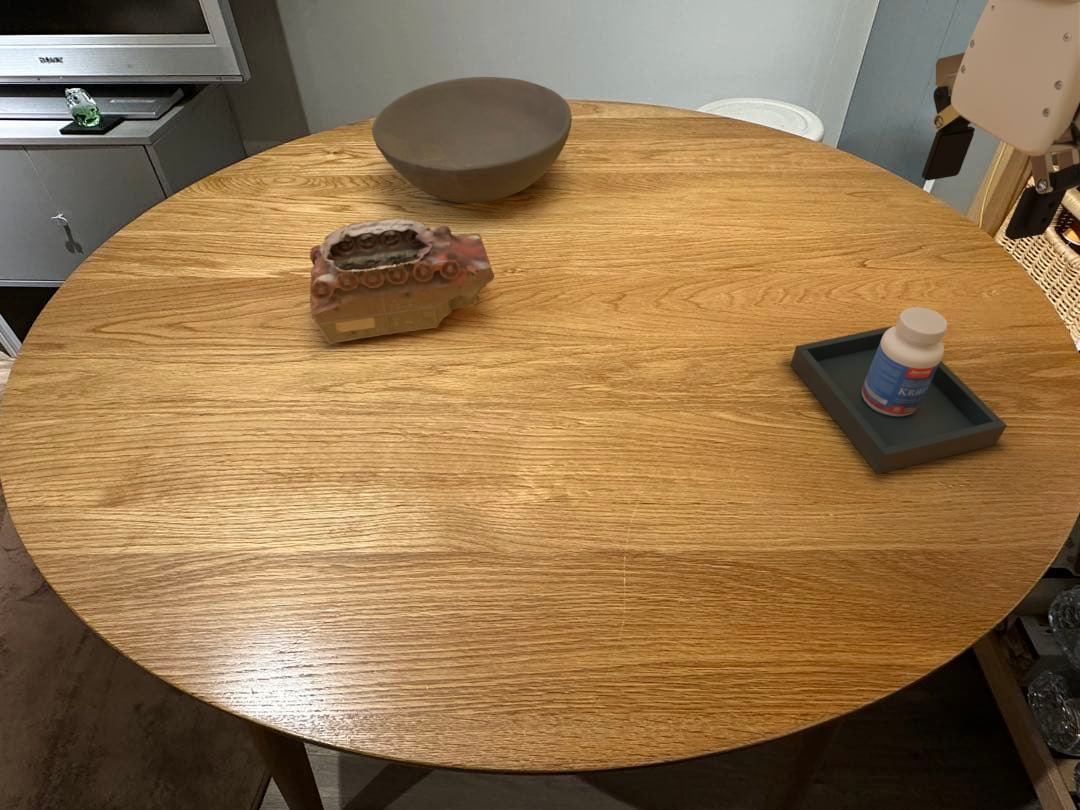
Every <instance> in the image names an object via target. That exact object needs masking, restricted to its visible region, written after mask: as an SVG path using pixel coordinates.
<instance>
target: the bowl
mask: <svg viewBox="0 0 1080 810" xmlns="http://www.w3.org/2000/svg"><path fill="white" fill-rule="evenodd" d="M572 120H573V116H572V109H571V107H570V105H569V104H568V102H567V101H566V99H565V98H563V97H562V96H561V95H560V94H559V93H557V92H556V91H555V90H552V89H550V88H548V87H545V86H543V85H539V84H537V83H534V82H531V81H527V80H523V79H518V78H510V77H501V76H500V77H498V76H471V77H460V78H459V77H458V78H453V79H447V80H443V81H439V82H436V83H431V84H427V85H425V86H422V87H419V88H416V89H413V90H411V91H409V92H407V93H405V94H403V95H401V96H399V97H397V99H394V100H393V101H391V103H389V104H388V105H387V106H386V107H384V109H382V111H380V112H379V114H378V115H377V116H376V118H375V119H374V121H373V123H372V127H371V134H372V138H373V140H374V143H375V145H376V147H377V149H378V150H379V152H380V153H381V155H382V156H383V158H384V159H385V161H387V163H388V164H389V165H390V166H391V167H392V168H393V169H394V170H395V171H396V172H397V173H398V174H399V175H400V176H401V177H402V178H403V179H405V180H406V181H407V182H408V183H410V184H411V185H413V186H414V187H416V188H417V189H419V190H422V191H423V192H425V193H427V194H429V195H431V196H434V197H437V198H439V199H441V200H445V201H448V202H452V203H455V204H465V205H466V204H467V205H469V204H471V205H472V204H474V205H475V204H483V203H488V202H493V201H498V200H501V199H505V198H507V197H510V196H513V195H516V194H517V193H519V192H522V191H524V190H525V189H527V188H528V187H530V186H531V185H533V184H535V183H536V182H537V181H538V180H539V179H540V178H541V177H542V176H543V175H545V173H546V172H547V171H548V170H549V169H550V168H551V167H552V165H553V164H554V163H555V162H556V161H557V159H558V157H559V156H560V155H561V153H562V152H563V149H564V147H565V145H566V144H567V141H568V139H569V135H570V131H571V128H572V122H573V121H572Z"/></svg>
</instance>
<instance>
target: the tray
mask: <svg viewBox="0 0 1080 810" xmlns="http://www.w3.org/2000/svg"><path fill="white" fill-rule="evenodd" d="M893 326H896V324H895V325H890V326H885V327H881V328H877V329H872V330H867V331H862V332H857V333H852V334H847V335H843V336H837V337H833V338H828V339H824V340H823V339H822V340H818V341H813V342H808V343H805V344H803V343H802V344H799V345H796V346H795V349H794V352H793V355H792V359H791V363H790V366H791V367H792V369H793V370H794V371H795V373H797V375H798V377H799V378H800V379H801V380H802V382H804V384H805V385H806V386H807V388H808V389H809V390H810V391H811V392H812V394H813V395H814V397H815V398H816V399H817V400H818V401H819V402H820V405H822V407H823V408H824V409H825V410H826V411H827V413H828V414H829V415H830V417H831V418H832V419H833V420H834V422H835V423H836V424H837V425H838V427H839V428H840V429H841V430H842V432H843V433H844V434H845V436H846V437H847V438H848V439H849V441H850V442H851V444H853V446H854V447H855V448H856V449H857V451H858V452H859V453H860V455H861V456H862V457H863V458H864V459H865V460H866V462H867V463H868V464H869V466H870V467H871V468H872V470H874V472H875V473H876V474H877V475H879V474H883V473H887V472H891V471H895V470H899V469H903V468H907V467H911V466H916V465H919V464H924V463H929V462H931V461H935V460H936V461H937V460H940V459H944V458H947V457H952V456H955V455H960V454H963V453H967V452H968V453H969V452H972V451H976V450H981V449H983V448H984V449H985V448H988V447H991V446H992V447H993V446H996V445H997V443H998V441H999V440H1000V438H1001V437H1002V435H1003V433H1004V432H1005V430H1006V428H1007V427H1008V425H1007V424H1006V423H1005V422H1004V421H1003V420H1002V419H1001V418H1000V417H999V416H998V415H997V414H996V413H995V412H994V411H993V410H992V409H991V408H990V406H989V407H988V405H987V404H986V403H985V402H984V401H983V400H982V399H981V398H979V396H978V395H977V394H976V393H975V392H974V391H973V390H971V388H969V387H968V385H966V384H965V383H964V382H963V381H962V380H961V378H960V377H958V376H957V374H955V373H954V372H953V371H952V370H951V369H950V368H949V367H948V366H947V365H946V364H945V363H944V362H943V361H942V360H941V361H940V363H939V365H938V368H937V370H936V372H935V374H934V376H933V378H932V380H931V382H930V384H929V387H928V389H927V391H926V393H925V395H924V397H923V399H922V401H921V403H920V405H919V407H918V409H917V410H916V411H915V412H914V413H912V414H910V415H907V416H900V417H896V416H888V415H885V414H882V413H879V412H877V411H875V410H874V409H872V408H871V407H870V406H869V405H868V404H867V403H866V402H865V400H864V399H863V396H862V387H863V384H864V382H865V379H866V377H867V374H868V372H869V369H870V367H871V364H872V362H873V359H874V356H875V354H876V351H877V349H878V346H879V344H880V341H881V339H882V337H883V335H884V333H885V332H886V331H887V330H888V329H889V328H891V327H893Z"/></svg>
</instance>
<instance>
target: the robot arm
mask: <svg viewBox="0 0 1080 810" xmlns="http://www.w3.org/2000/svg"><path fill="white" fill-rule="evenodd" d="M935 86H936V88H935V89H934V91H933V101H934V105H935V106H934V107H935V111H936V115H934V118H933V119H932V120H933V121H932V124H933V127H934V129H935V130H937V131H936V133H935V135H934V137H933V141H932V144H931V147H930V150H929V153H928V155H927V159H926V161H925V164H924V167H923V170H922V173H921V177H922V179H924V180H925V181H935V180H939V179H940V180H941V179H945V178H952V177H956V176H958V175H959V174H960V172H961V169H962V167H963V164H964V161H965V160H966V156H967V154H968V151H969V149H970V147H971V143H972V141H973V139H974V135H975V130H976V128H975V127H973V126H971V124H973V125H974V126H976V127H977V128H980V129H981V130H982V131H984V132H986V133H988V134H989V135H991V136H993V137H994V138H996V139H998V140H1000V141H1002V142H1003V143H1005V144H1007V145H1009V146H1010V147H1012V148H1013V149H1014V150H1015V149H1016V150H1017V151H1020V152H1021V153H1023V154H1025V155H1028V156H1029V157H1030V158H1029V159H1030V164H1031V171H1032V177H1033V184H1034V185H1033V186H1029V187H1025V188H1024V189H1023V191H1022V193H1021V195H1020V197H1019V200H1018V202H1017V204H1016V205H1015V208H1014V210H1013V213H1012V215H1011V218H1010V220H1009V222H1008V224H1007V226H1006V229H1005V230H1004V236H1005V237H1006V238H1008V239H1009V240H1010V241H1015V240H1020V239H1026V238H1031V237H1036V236H1042V235H1043V234H1044V233H1046V232H1047V230H1048V228H1049V227H1050V225H1051V224H1052V222H1053V220H1054V218H1055V216H1056V214H1057V212H1058V210H1059V208H1060V206H1061V204H1062V202H1063V201H1064V198H1065V196H1066V194H1067V191H1068V190H1072V189H1077V188H1079V187H1080V154H1079V150H1080V0H988V1H987V3H986V5H985V7H984V9H983V11H982V14H981V15H980V17H979V20H978V21H977V23H976V27H975V28H974V31H973V33H972V35H971V37H970V40H969V43H968V45H967V48H966V50H965V52H960V53H957V54H952V55H949V56H948V55H947V56H943V57H940V58H938V59H937V60H936V62H935ZM1054 141H1056V142H1055V143H1054ZM1054 155H1056V158H1057V165H1058V170H1057V171H1055V169H1054V163H1053V156H1054Z"/></svg>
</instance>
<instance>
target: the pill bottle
mask: <svg viewBox="0 0 1080 810" xmlns="http://www.w3.org/2000/svg"><path fill="white" fill-rule="evenodd" d="M895 325H896V326H895ZM895 325H892V326H893V327H891V328H889V329H888V330H887V331H886V332H885V333H884V335H883V337H882V339H881V341H880V344H879V346H878V349H877V351H876V354H875V356H874V359H873V362H872V364H871V367H870V369H869V372H868V374H867V377H866V379H865V382H864V384H863V387H862V396H863V399H864V400H865V402H866V403H867V404H868V405H869V406H870V407H871V408H872V409H874V410H875V411H877V412H879V413H882V414H885V415H888V416H896V417H900V416H907V415H910V414H912V413H914V412H915V411H916V410H917V409H918V407H919V405H920V403H921V401H922V399H923V397H924V395H925V393H926V391H927V389H928V387H929V384H930V382H931V380H932V378H933V376H934V374H935V372H936V370H937V368H938V365H939V363H940V361H942V360H943V357H944V354H945V346H944V343H943V338H944V337H945V334H946V331H947V329H948V321H947V319H946V318H945V317H944V316H943V315H942V314H940V313H939V312H937V311H935V310H933V309H931V308H928V307H923V306H911V307H908V308H905V309H904V310H902V311H901V312H900V314H899V316H898V319H897V321H896V323H895Z"/></svg>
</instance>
